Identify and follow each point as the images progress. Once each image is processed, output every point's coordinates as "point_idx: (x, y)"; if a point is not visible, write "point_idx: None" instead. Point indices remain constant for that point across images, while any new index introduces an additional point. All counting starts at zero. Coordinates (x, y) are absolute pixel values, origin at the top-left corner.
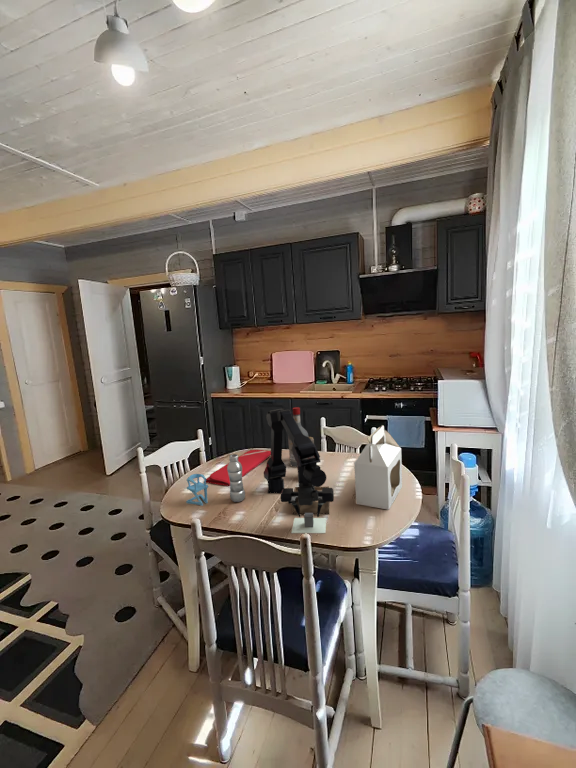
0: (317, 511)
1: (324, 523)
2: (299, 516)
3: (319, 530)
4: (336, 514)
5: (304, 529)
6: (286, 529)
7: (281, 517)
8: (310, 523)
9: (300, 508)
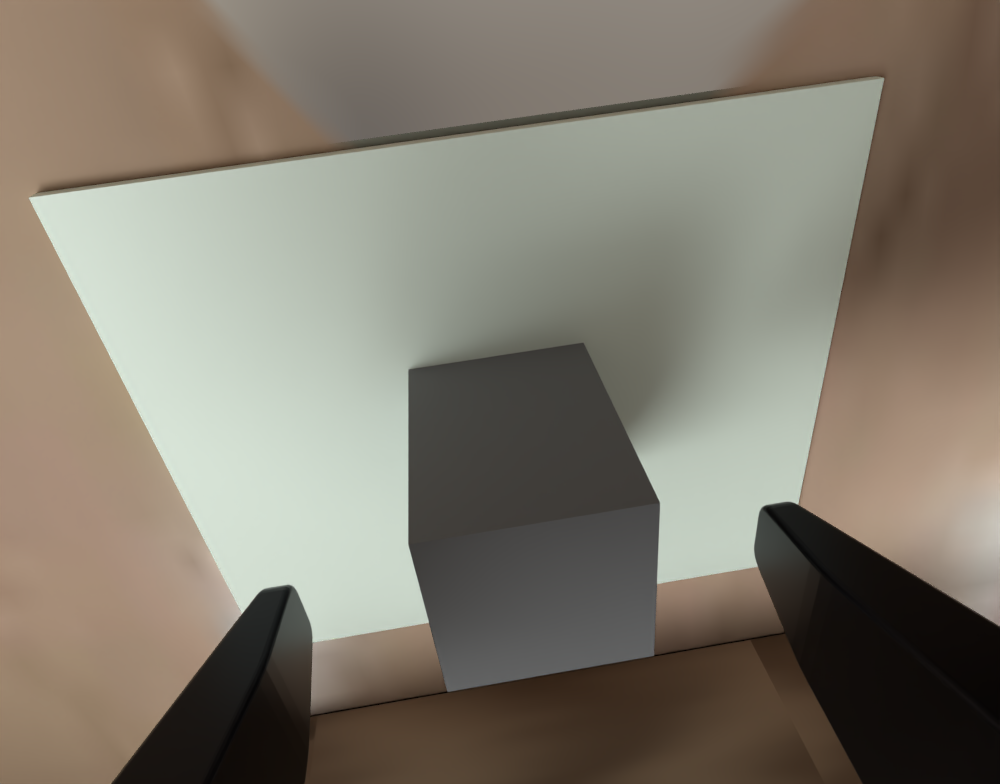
0: (213, 755)
1: (222, 518)
2: (786, 513)
3: (224, 275)
4: (142, 741)
5: (580, 259)
6: (965, 216)
7: (988, 540)
8: (465, 409)
9: (726, 746)
